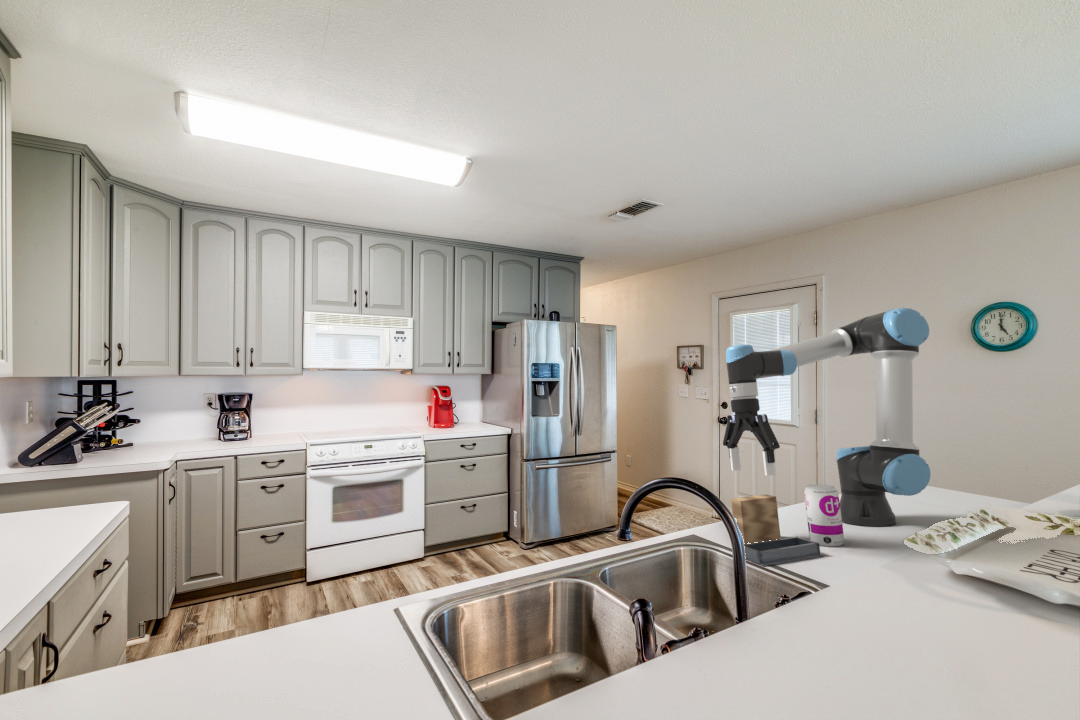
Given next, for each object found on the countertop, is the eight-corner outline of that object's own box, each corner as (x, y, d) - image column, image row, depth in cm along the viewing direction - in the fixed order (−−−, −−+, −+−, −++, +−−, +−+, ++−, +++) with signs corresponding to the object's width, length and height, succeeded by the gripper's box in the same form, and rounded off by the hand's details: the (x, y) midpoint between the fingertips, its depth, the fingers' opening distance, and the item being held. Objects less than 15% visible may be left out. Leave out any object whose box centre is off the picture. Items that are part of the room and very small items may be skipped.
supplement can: (851, 546, 124) (844, 488, 126) (820, 548, 125) (813, 489, 126) (833, 538, 133) (826, 483, 134) (803, 539, 133) (797, 485, 134)
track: (795, 547, 126) (794, 535, 127) (823, 556, 118) (822, 543, 118) (738, 556, 122) (737, 544, 122) (763, 566, 113) (761, 553, 113)
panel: (770, 536, 138) (766, 494, 139) (780, 539, 134) (776, 496, 135) (735, 541, 135) (731, 498, 136) (745, 545, 131) (740, 500, 132)
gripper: (706, 400, 148) (713, 469, 146) (765, 396, 125) (774, 478, 122) (726, 399, 150) (734, 467, 148) (788, 395, 127) (797, 476, 124)
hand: (752, 472), depth 135 cm, fingers open, 13 cm apart
